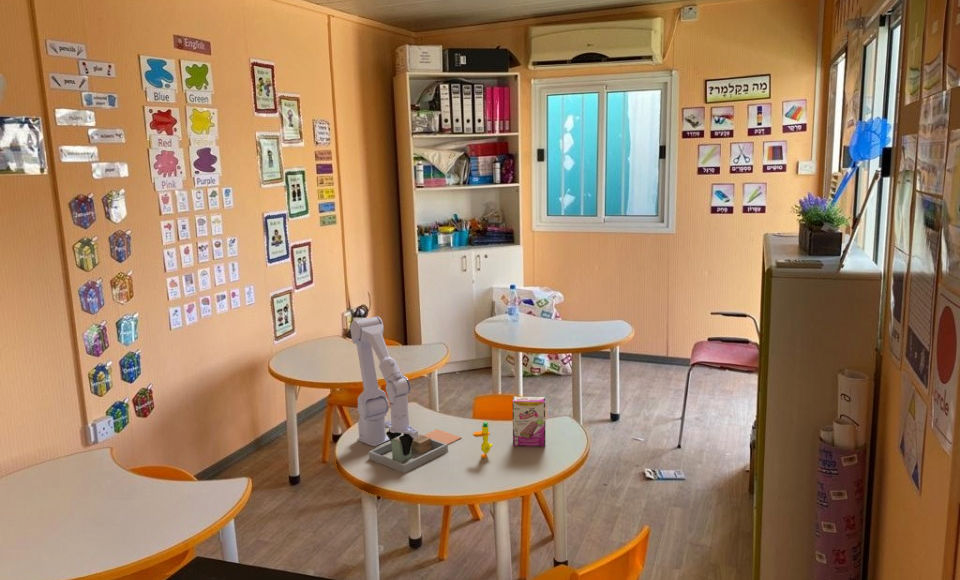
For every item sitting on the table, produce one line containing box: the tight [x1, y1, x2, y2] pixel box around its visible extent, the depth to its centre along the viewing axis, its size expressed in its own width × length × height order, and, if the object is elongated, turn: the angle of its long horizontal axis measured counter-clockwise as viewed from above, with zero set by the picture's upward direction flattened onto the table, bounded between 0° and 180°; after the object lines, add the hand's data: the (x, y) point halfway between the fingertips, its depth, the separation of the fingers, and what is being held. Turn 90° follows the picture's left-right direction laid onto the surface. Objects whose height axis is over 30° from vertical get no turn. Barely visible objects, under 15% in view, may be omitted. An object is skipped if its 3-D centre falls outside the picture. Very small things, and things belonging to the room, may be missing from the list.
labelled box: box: [390, 433, 413, 463], centre depth 228 cm, size 4×5×7 cm
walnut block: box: [411, 434, 432, 455], centre depth 235 cm, size 5×5×4 cm
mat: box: [423, 429, 462, 446], centre depth 244 cm, size 12×9×1 cm
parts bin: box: [368, 433, 449, 474], centre depth 231 cm, size 17×20×2 cm
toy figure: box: [472, 421, 494, 459], centre depth 227 cm, size 7×4×12 cm, turn 100°
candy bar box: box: [512, 396, 547, 448], centre depth 235 cm, size 11×5×16 cm, turn 84°
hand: (401, 452), depth 229 cm, fingers closed on labelled box, 4 cm apart
